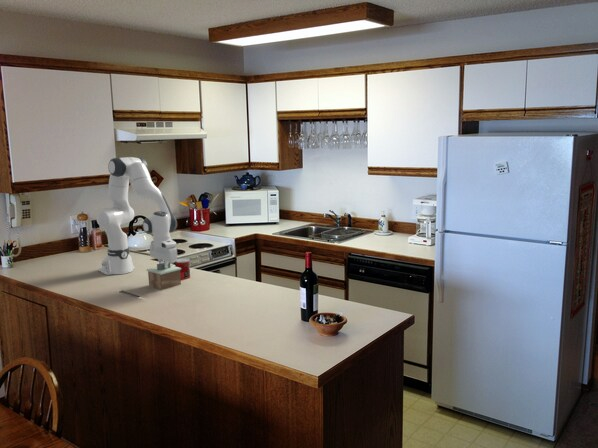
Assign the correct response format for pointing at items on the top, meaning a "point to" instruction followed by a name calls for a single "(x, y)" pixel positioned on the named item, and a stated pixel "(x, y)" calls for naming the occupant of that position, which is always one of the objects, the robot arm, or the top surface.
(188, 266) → the canned food
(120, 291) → the dark grey flat plate
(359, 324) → the top surface
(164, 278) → the crate
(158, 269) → the lid
